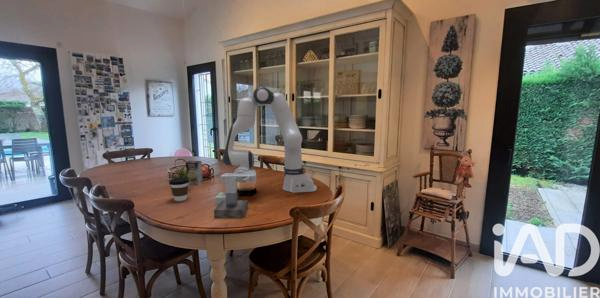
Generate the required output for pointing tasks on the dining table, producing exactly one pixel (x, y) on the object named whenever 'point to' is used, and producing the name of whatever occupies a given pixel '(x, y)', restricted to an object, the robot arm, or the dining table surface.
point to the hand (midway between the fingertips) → (236, 181)
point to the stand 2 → (231, 210)
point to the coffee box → (194, 172)
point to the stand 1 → (220, 198)
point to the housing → (231, 191)
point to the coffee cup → (179, 188)
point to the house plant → (183, 174)
